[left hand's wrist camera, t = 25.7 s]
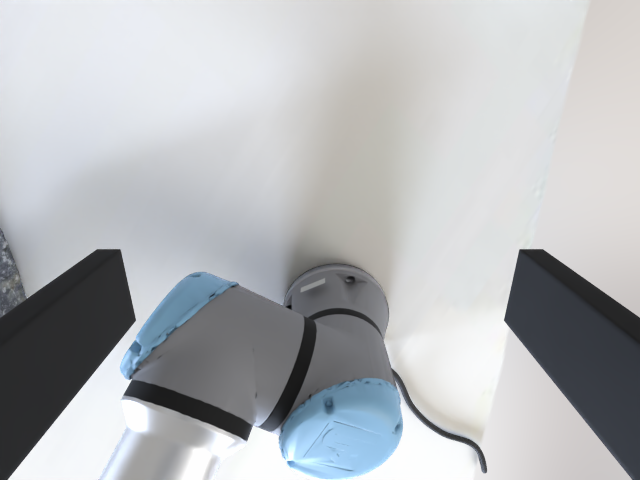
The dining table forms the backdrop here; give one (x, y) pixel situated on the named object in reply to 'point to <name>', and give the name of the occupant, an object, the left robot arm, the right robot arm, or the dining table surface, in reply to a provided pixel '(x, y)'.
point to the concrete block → (9, 280)
